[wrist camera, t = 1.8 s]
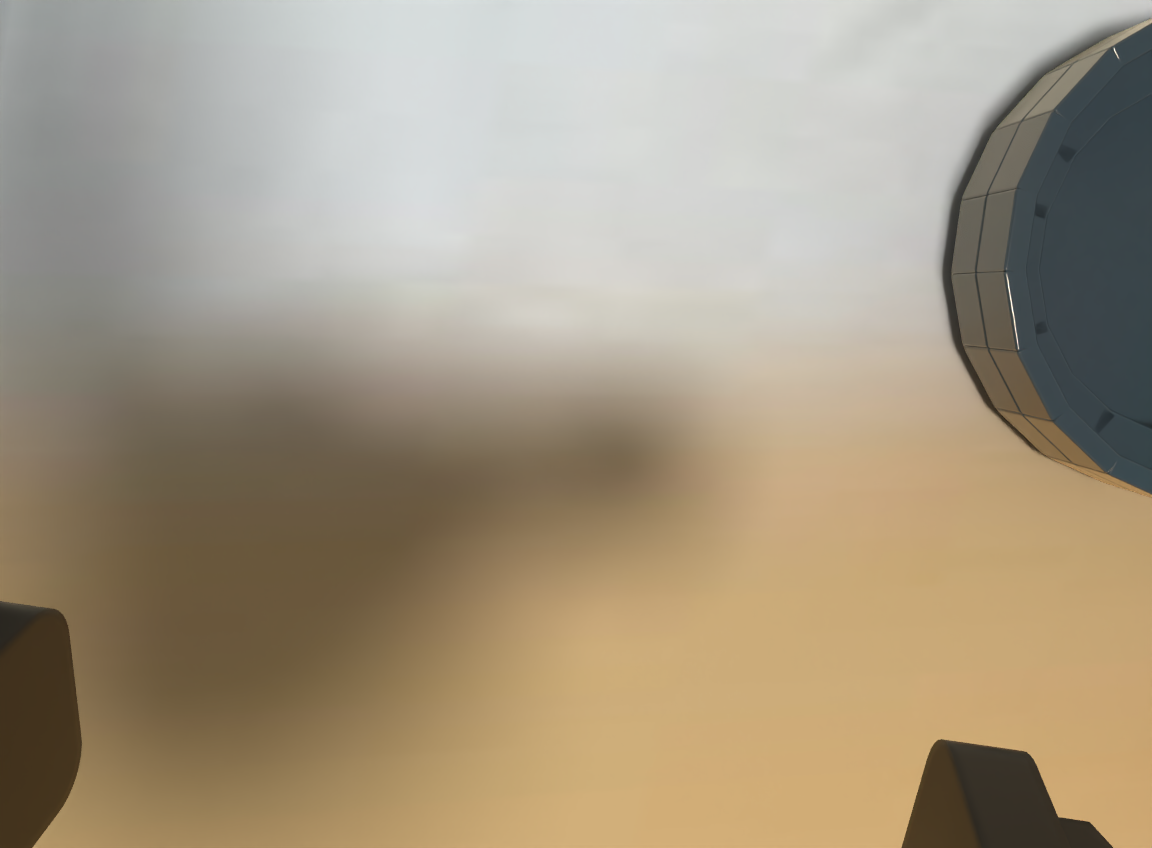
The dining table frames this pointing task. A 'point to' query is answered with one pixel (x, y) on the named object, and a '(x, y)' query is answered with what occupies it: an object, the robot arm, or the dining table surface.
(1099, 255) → the bowl
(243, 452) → the dining table surface
